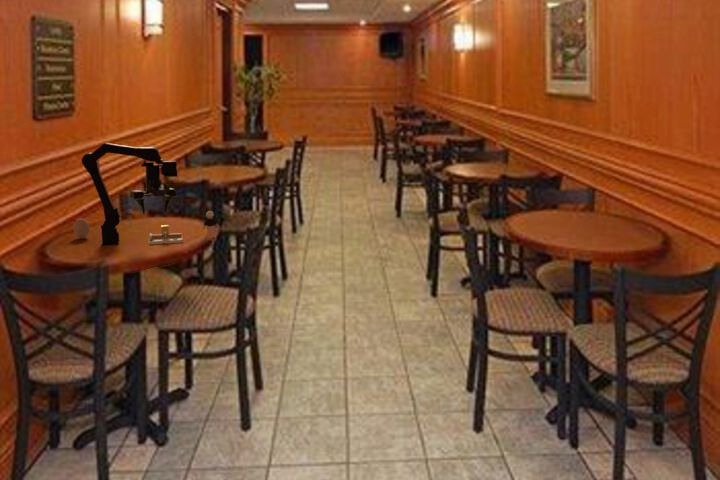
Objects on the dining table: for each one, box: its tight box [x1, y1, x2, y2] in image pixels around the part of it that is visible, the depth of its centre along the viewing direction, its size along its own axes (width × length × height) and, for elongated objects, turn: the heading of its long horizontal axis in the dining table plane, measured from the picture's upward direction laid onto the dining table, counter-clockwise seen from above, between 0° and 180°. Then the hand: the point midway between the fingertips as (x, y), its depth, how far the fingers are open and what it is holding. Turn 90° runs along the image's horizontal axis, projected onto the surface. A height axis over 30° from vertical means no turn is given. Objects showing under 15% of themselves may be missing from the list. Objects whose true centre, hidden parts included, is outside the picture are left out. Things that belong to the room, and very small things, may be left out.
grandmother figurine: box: [202, 210, 220, 241], centre depth 331 cm, size 8×4×13 cm, turn 141°
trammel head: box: [160, 224, 170, 239], centre depth 329 cm, size 3×6×5 cm, turn 14°
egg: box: [73, 217, 90, 240], centre depth 336 cm, size 7×7×9 cm
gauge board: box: [148, 232, 184, 245], centre depth 330 cm, size 14×10×3 cm
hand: (154, 213), depth 328 cm, fingers open, 9 cm apart
